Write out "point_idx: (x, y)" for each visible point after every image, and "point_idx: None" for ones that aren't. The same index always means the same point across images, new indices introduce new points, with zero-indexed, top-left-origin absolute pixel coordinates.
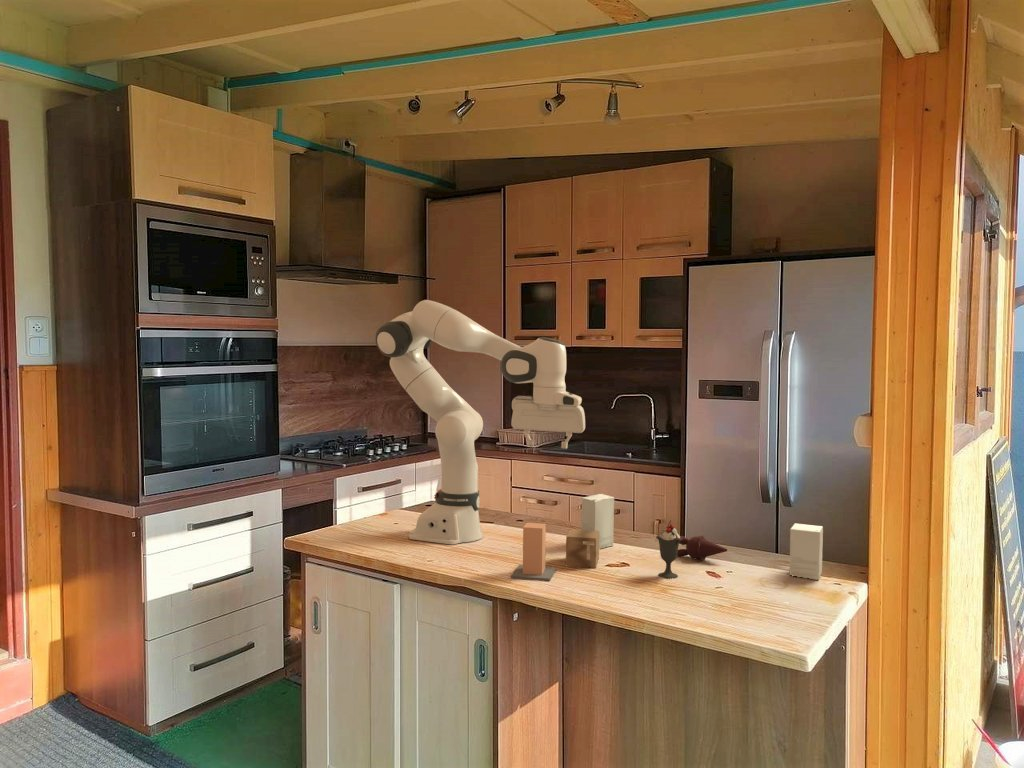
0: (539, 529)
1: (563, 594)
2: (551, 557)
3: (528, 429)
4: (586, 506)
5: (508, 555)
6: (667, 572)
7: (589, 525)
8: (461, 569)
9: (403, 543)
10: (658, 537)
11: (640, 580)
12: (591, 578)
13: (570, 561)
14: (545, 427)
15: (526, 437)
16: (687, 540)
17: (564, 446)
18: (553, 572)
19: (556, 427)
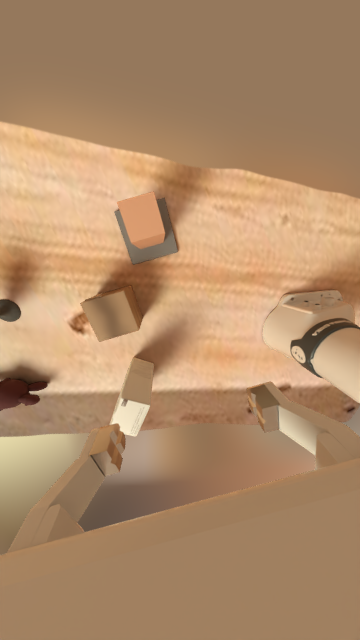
0: (123, 201)
1: (67, 160)
2: (162, 308)
3: (348, 463)
4: (140, 393)
5: (209, 290)
6: (1, 308)
7: (137, 375)
8: (235, 203)
9: (337, 272)
10: None
11: (23, 276)
12: (77, 252)
13: (124, 287)
14: (207, 544)
15: (306, 410)
16: (19, 398)
17: (97, 433)
18: (125, 243)
19: (91, 588)
